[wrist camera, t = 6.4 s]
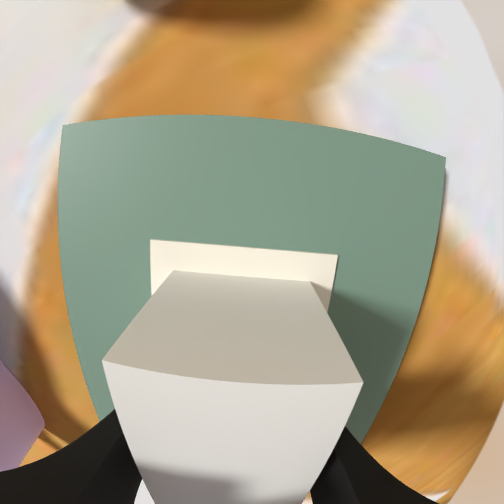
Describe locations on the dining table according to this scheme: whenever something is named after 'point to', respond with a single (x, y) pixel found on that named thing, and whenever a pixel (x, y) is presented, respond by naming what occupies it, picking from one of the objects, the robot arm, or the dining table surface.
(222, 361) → the plug housing
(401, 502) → the robot arm
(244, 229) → the board
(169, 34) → the dining table surface
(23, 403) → the purple lobed piece
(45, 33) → the dining table surface
